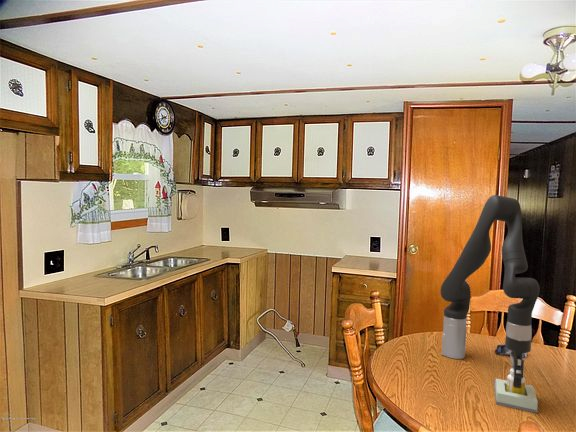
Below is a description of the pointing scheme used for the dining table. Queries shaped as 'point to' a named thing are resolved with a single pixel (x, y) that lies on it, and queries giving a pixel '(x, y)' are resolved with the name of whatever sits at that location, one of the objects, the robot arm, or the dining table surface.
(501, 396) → the socket board
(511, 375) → the supplement bottle
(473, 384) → the dining table surface
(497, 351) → the snack package
